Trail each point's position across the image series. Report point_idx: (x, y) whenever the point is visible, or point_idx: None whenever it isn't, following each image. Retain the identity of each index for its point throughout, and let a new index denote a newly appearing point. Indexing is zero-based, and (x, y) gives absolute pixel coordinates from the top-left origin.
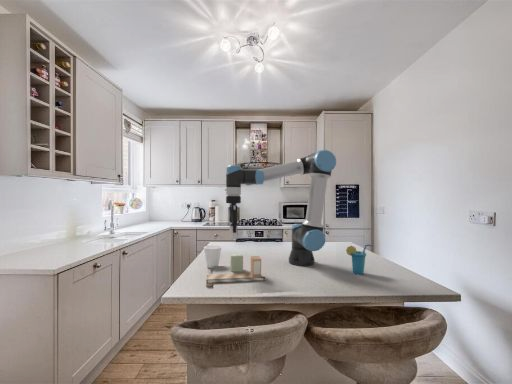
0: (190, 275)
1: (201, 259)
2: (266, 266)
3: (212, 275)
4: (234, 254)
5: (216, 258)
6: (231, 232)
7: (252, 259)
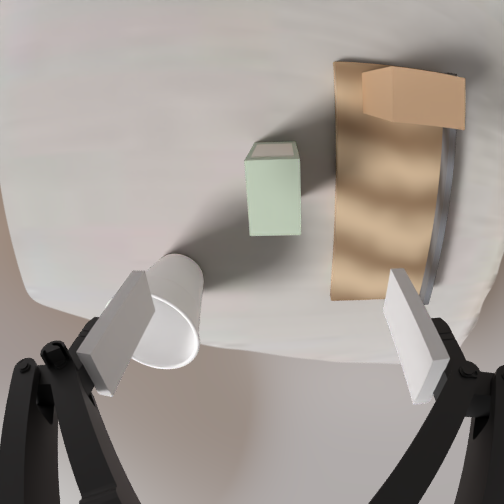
0: (293, 343)
1: (83, 310)
2: (176, 13)
3: (342, 280)
4: (255, 212)
5: (192, 285)
6: (399, 351)
7: (454, 128)
